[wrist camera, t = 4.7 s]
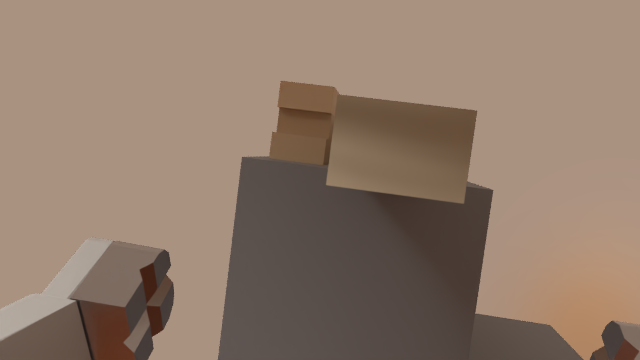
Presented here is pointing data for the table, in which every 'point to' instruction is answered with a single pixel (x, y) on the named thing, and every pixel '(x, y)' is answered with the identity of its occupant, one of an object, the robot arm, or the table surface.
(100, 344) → the robot arm
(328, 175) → the birch strip
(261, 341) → the grey stepped block
